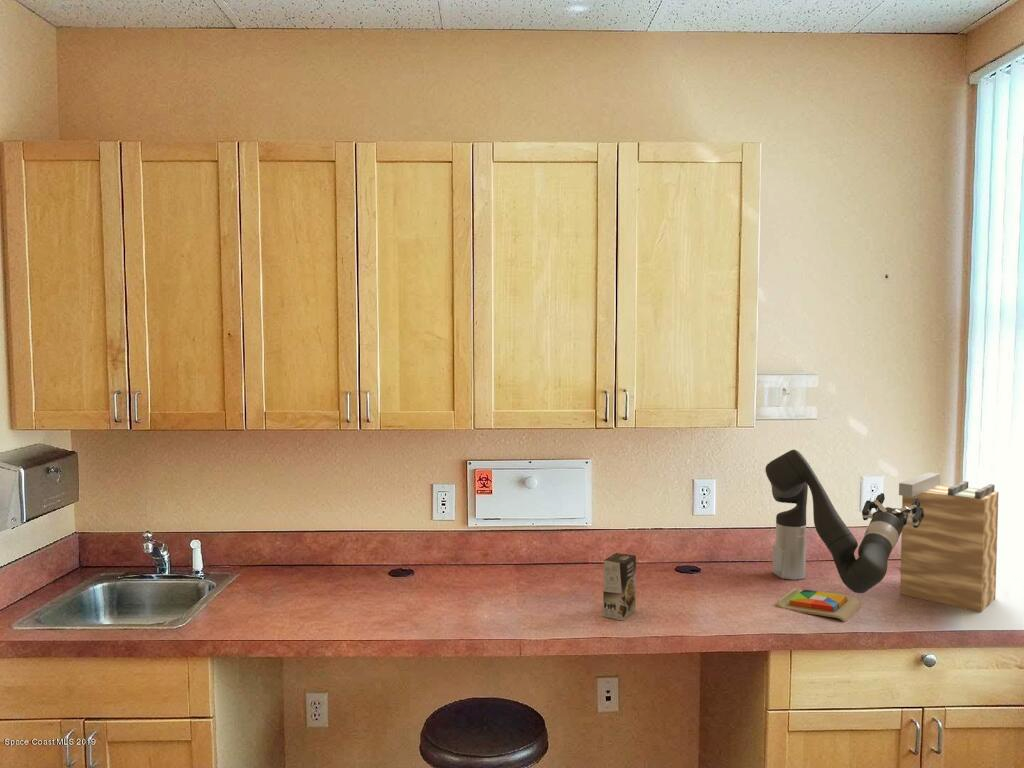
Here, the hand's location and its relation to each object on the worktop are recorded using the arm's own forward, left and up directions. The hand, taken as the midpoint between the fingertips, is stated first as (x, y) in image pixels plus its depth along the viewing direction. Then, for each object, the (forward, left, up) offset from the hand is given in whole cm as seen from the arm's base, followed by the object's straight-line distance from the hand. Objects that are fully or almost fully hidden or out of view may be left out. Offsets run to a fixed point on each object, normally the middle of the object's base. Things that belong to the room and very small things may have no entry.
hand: (899, 497), depth 196 cm
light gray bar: (+17, +14, -1) cm, 22 cm away
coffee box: (-77, +11, -33) cm, 84 cm away
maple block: (+25, +12, -33) cm, 43 cm away
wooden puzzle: (-18, +9, -34) cm, 39 cm away
